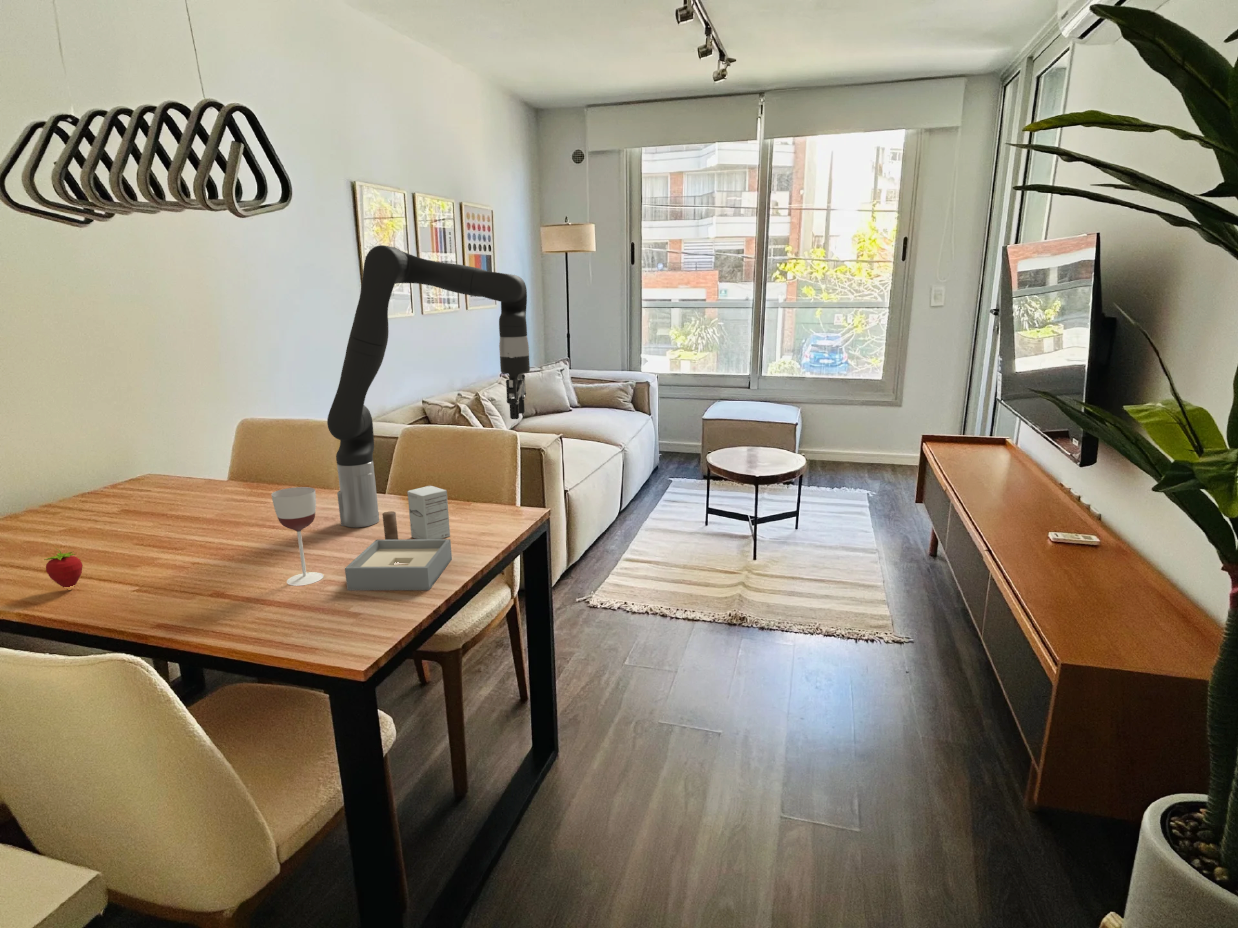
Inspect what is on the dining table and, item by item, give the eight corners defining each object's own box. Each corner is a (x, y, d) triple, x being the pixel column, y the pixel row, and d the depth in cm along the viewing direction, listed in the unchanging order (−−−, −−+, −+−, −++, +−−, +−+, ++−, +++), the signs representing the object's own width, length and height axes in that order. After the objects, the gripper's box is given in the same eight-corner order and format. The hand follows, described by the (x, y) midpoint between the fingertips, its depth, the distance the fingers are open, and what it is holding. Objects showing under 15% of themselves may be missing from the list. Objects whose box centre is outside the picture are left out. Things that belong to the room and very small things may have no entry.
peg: (384, 554, 166) (380, 515, 164) (389, 550, 169) (385, 511, 167) (396, 554, 166) (392, 515, 164) (401, 550, 169) (397, 511, 167)
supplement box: (410, 537, 178) (406, 490, 175) (435, 530, 183) (431, 484, 180) (426, 544, 173) (421, 495, 170) (451, 536, 178) (447, 489, 176)
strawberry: (62, 598, 145) (52, 554, 142) (44, 592, 148) (34, 548, 146) (94, 588, 150) (84, 545, 147) (76, 582, 153) (66, 539, 151)
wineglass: (294, 571, 157) (282, 487, 152) (332, 571, 157) (321, 486, 152) (276, 586, 149) (263, 497, 144) (316, 585, 149) (304, 497, 144)
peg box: (347, 590, 146) (344, 568, 145) (378, 559, 163) (376, 539, 162) (429, 590, 146) (427, 567, 144) (451, 559, 163) (450, 539, 161)
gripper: (505, 352, 186) (508, 412, 189) (494, 357, 172) (498, 421, 176) (533, 352, 185) (535, 411, 189) (524, 356, 171) (527, 420, 175)
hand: (517, 416), depth 182 cm, fingers open, 8 cm apart
